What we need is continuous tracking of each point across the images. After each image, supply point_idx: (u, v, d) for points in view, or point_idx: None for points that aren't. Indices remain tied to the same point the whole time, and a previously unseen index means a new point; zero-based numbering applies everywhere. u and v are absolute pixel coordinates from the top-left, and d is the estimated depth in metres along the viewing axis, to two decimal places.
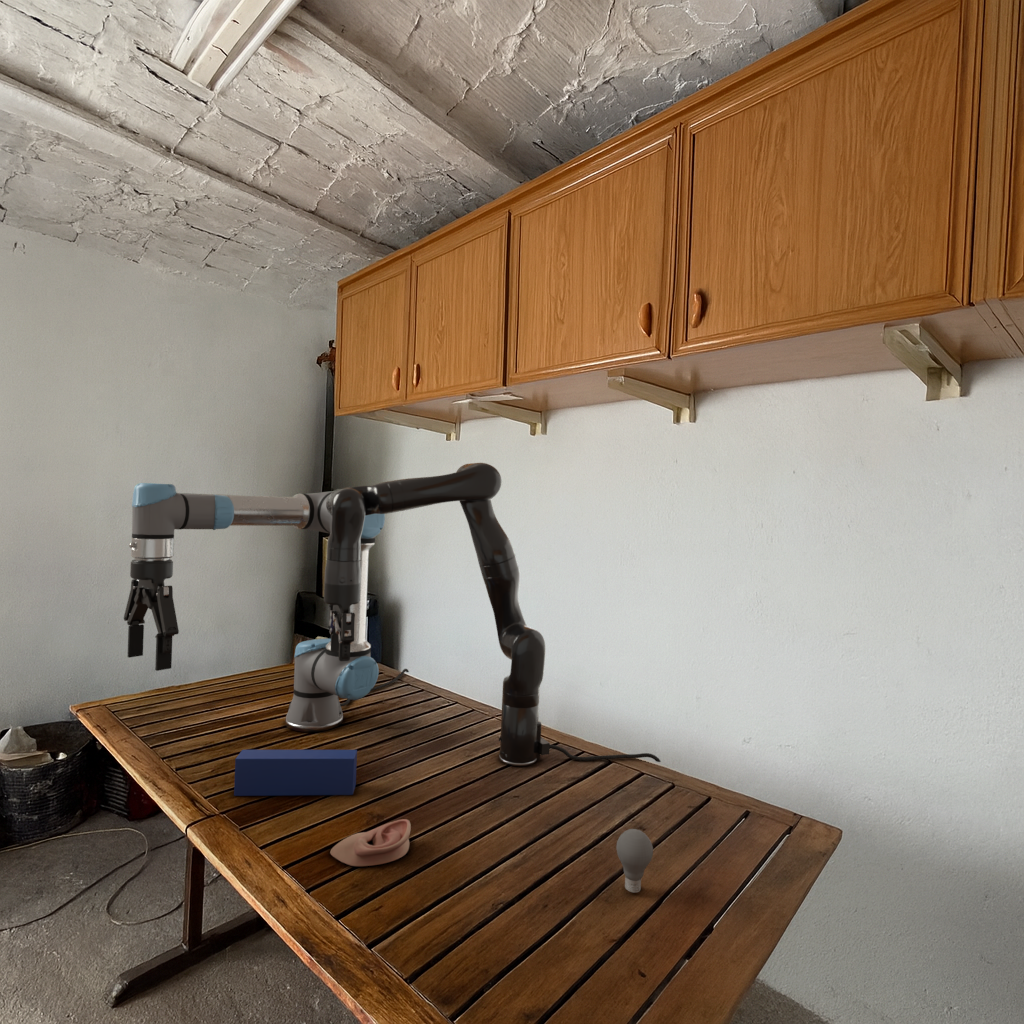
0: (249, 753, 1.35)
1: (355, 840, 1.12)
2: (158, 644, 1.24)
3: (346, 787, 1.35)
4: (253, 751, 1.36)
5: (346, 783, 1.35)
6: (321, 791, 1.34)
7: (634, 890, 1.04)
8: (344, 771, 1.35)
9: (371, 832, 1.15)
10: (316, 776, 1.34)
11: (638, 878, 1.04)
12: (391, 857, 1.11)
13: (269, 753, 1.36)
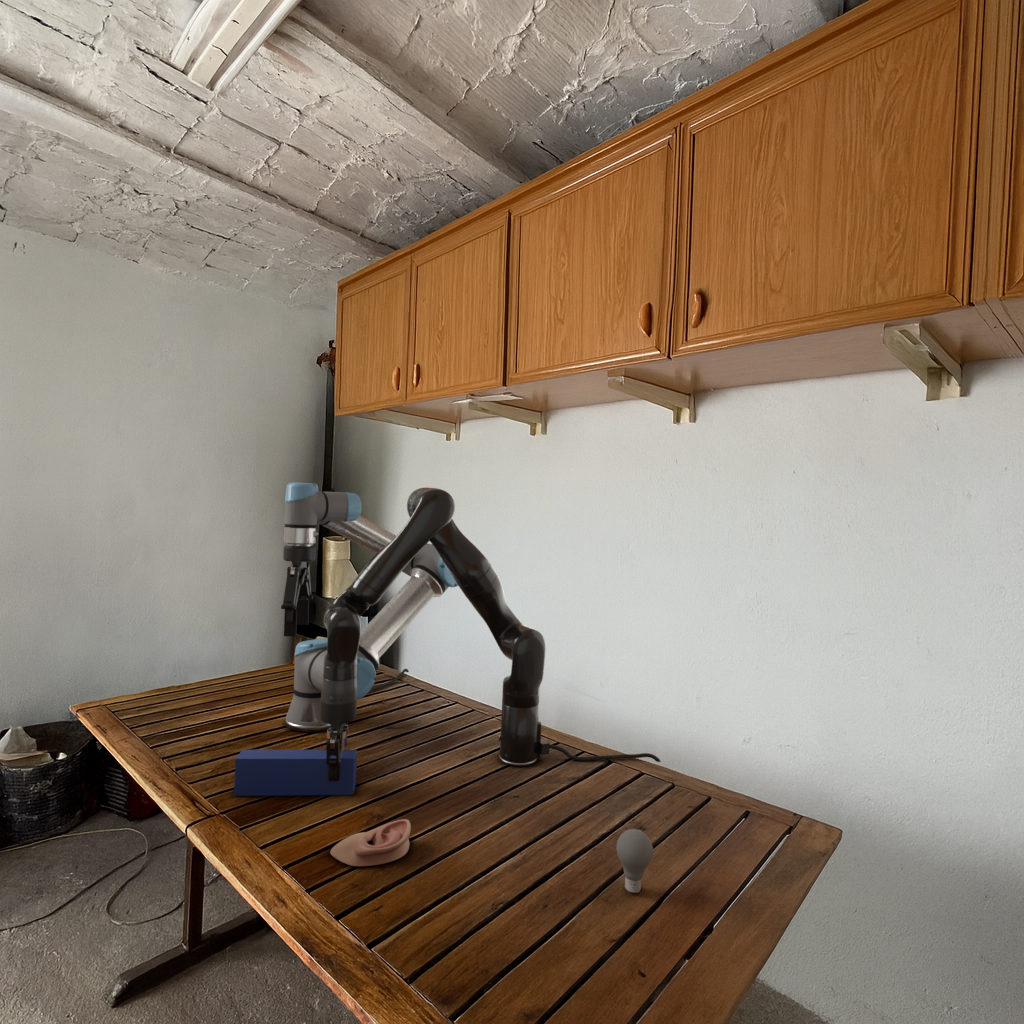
0: (249, 753, 1.35)
1: (355, 840, 1.12)
2: None
3: (346, 787, 1.35)
4: (253, 751, 1.36)
5: (346, 783, 1.35)
6: (321, 791, 1.34)
7: (634, 890, 1.04)
8: (344, 771, 1.35)
9: (371, 832, 1.15)
10: (316, 776, 1.34)
11: (638, 878, 1.04)
12: (391, 857, 1.11)
13: (269, 753, 1.36)
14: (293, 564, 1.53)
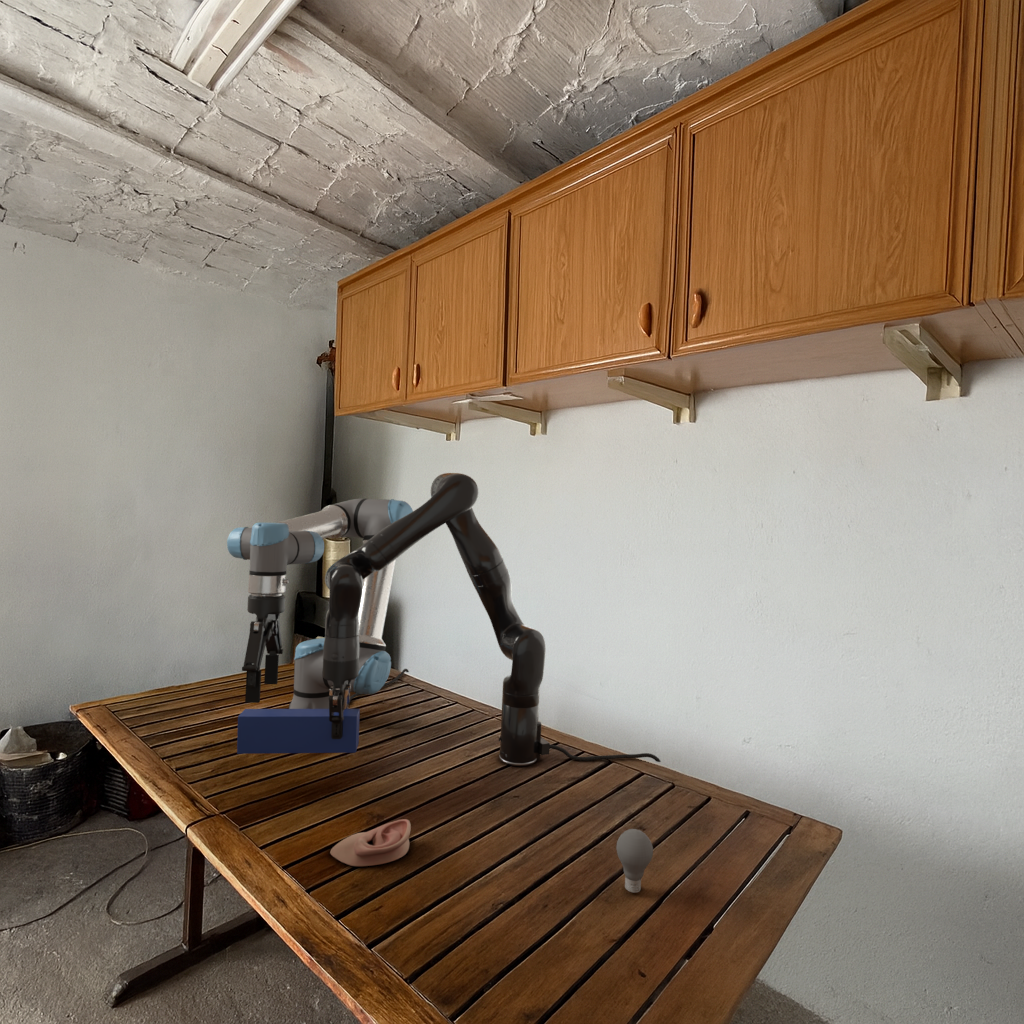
0: (252, 711, 1.35)
1: (355, 840, 1.12)
2: None
3: (349, 745, 1.35)
4: (256, 710, 1.36)
5: (348, 741, 1.35)
6: (324, 749, 1.34)
7: (634, 890, 1.04)
8: (347, 729, 1.35)
9: (371, 832, 1.15)
10: (318, 734, 1.34)
11: (638, 878, 1.04)
12: (391, 857, 1.11)
13: (271, 712, 1.36)
14: (258, 617, 1.33)
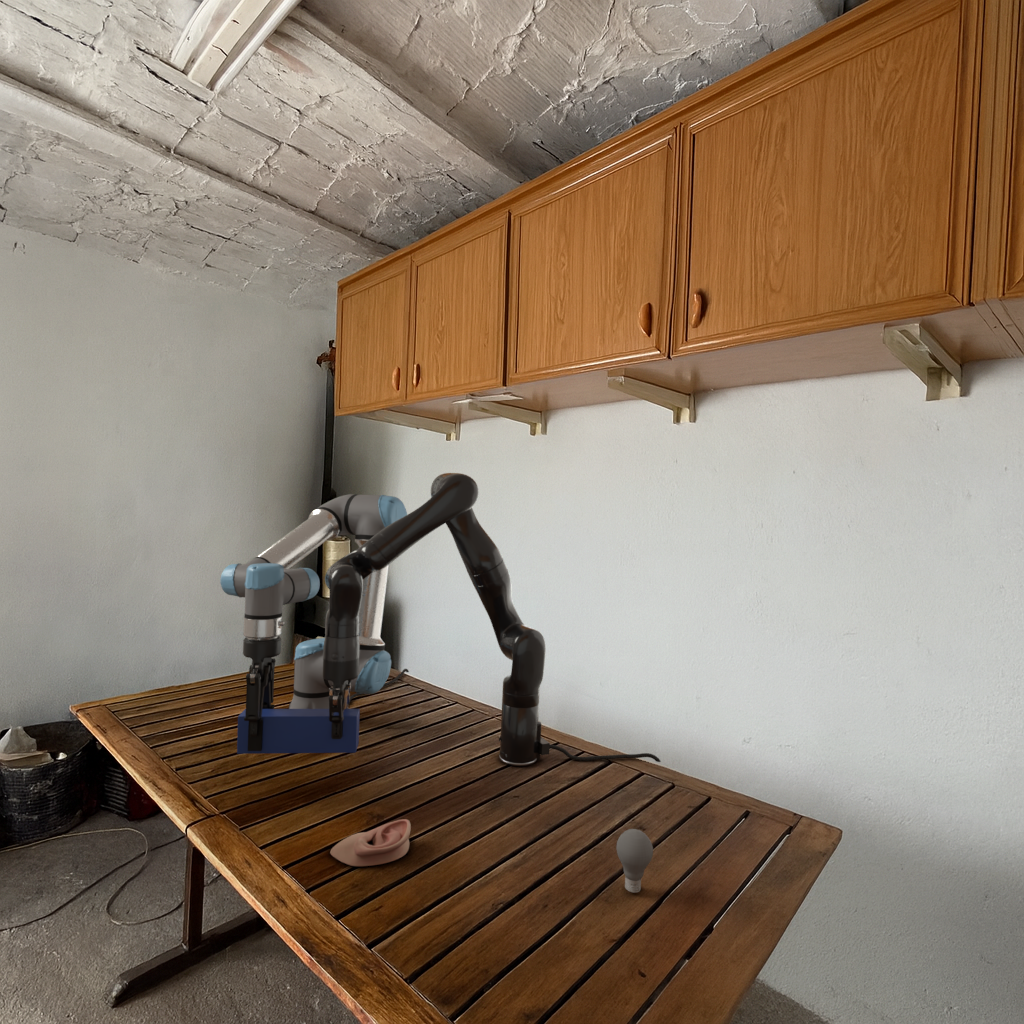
0: None
1: (355, 840, 1.12)
2: None
3: (349, 745, 1.35)
4: None
5: (348, 741, 1.35)
6: (324, 749, 1.34)
7: (634, 890, 1.04)
8: (347, 729, 1.35)
9: (371, 832, 1.15)
10: (318, 734, 1.34)
11: (638, 878, 1.04)
12: (391, 857, 1.11)
13: (271, 712, 1.36)
14: (254, 662, 1.31)
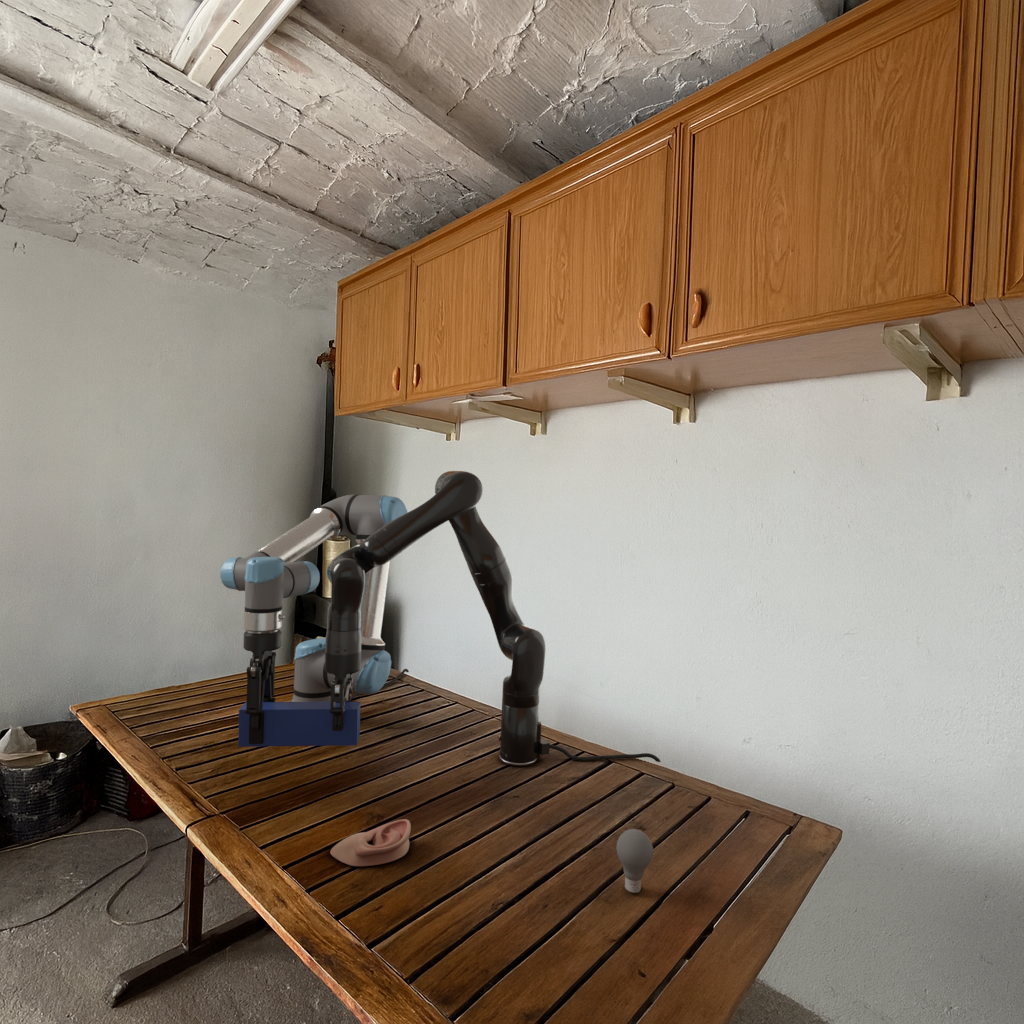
0: None
1: (355, 840, 1.12)
2: None
3: (350, 737, 1.35)
4: None
5: (349, 734, 1.35)
6: (325, 742, 1.35)
7: (634, 890, 1.04)
8: (348, 722, 1.35)
9: (371, 832, 1.15)
10: (319, 727, 1.34)
11: (638, 878, 1.04)
12: (391, 857, 1.11)
13: (272, 705, 1.36)
14: (254, 655, 1.31)
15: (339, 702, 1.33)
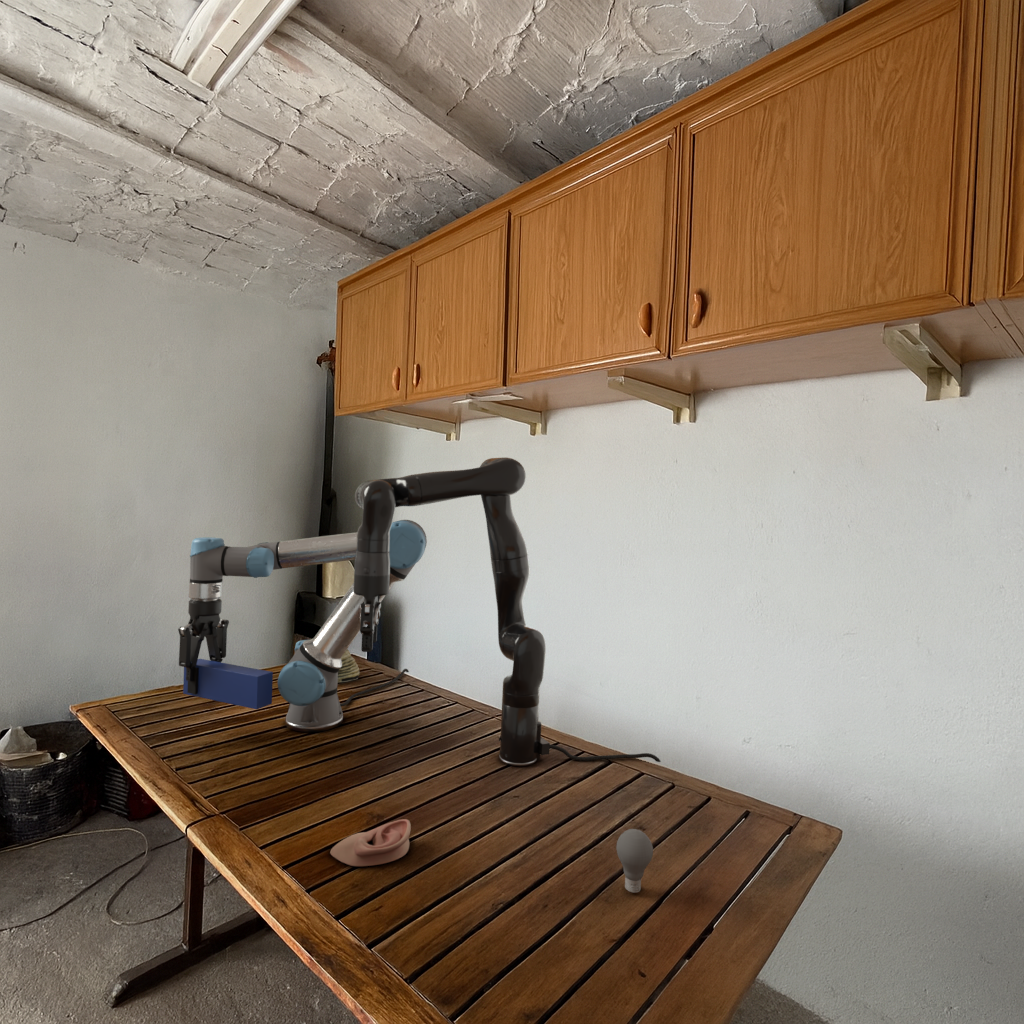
0: (199, 661, 1.61)
1: (355, 840, 1.12)
2: None
3: (252, 701, 1.51)
4: (204, 660, 1.62)
5: (252, 698, 1.51)
6: (236, 701, 1.53)
7: (634, 890, 1.04)
8: (251, 687, 1.51)
9: (371, 832, 1.15)
10: (232, 687, 1.53)
11: (638, 878, 1.04)
12: (391, 857, 1.11)
13: (210, 663, 1.60)
14: (190, 618, 1.57)
15: (368, 623, 1.34)
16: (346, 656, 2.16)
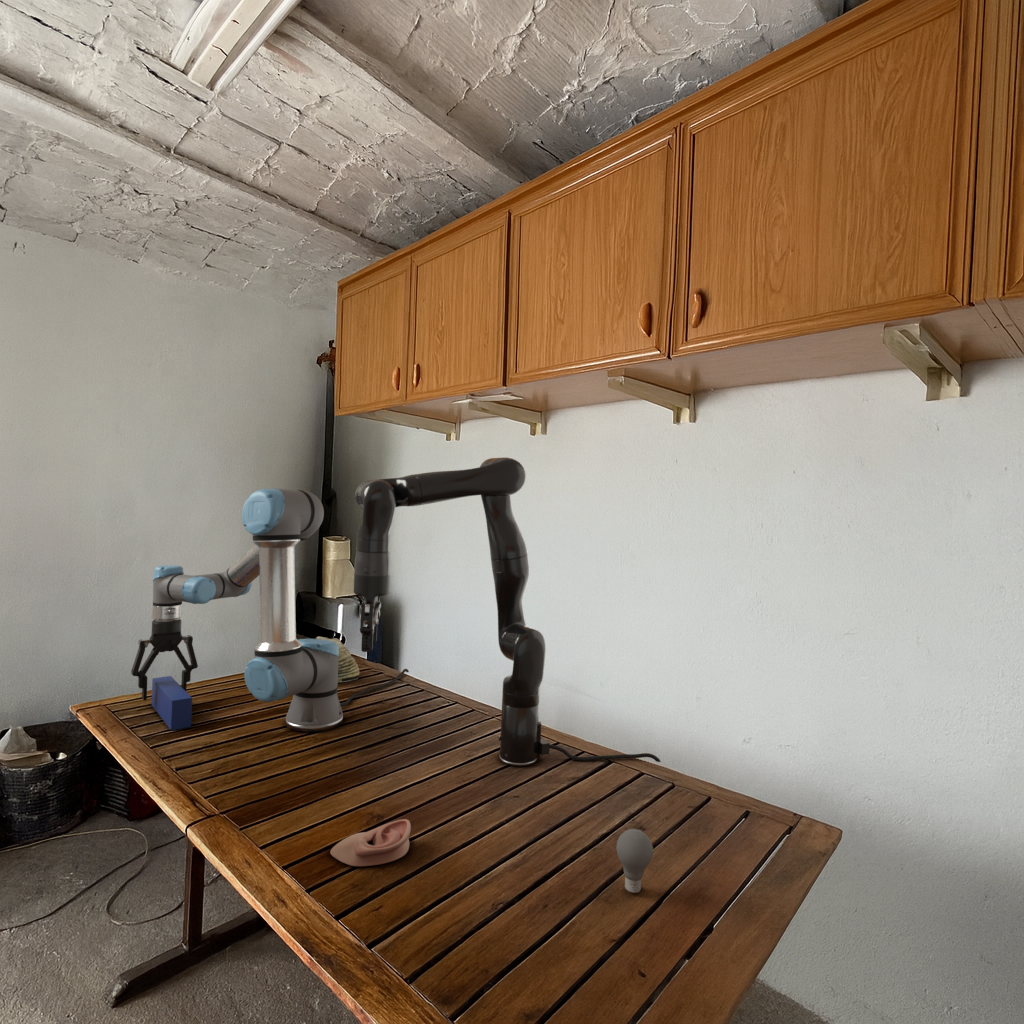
0: (164, 678, 1.85)
1: (355, 840, 1.12)
2: (186, 676, 1.86)
3: (169, 722, 1.67)
4: (168, 678, 1.85)
5: (169, 719, 1.67)
6: (165, 720, 1.71)
7: (634, 890, 1.04)
8: (169, 709, 1.68)
9: (371, 832, 1.15)
10: (164, 706, 1.72)
11: (638, 878, 1.04)
12: (391, 857, 1.11)
13: (167, 682, 1.82)
14: (151, 635, 1.81)
15: (368, 623, 1.34)
16: (346, 656, 2.16)
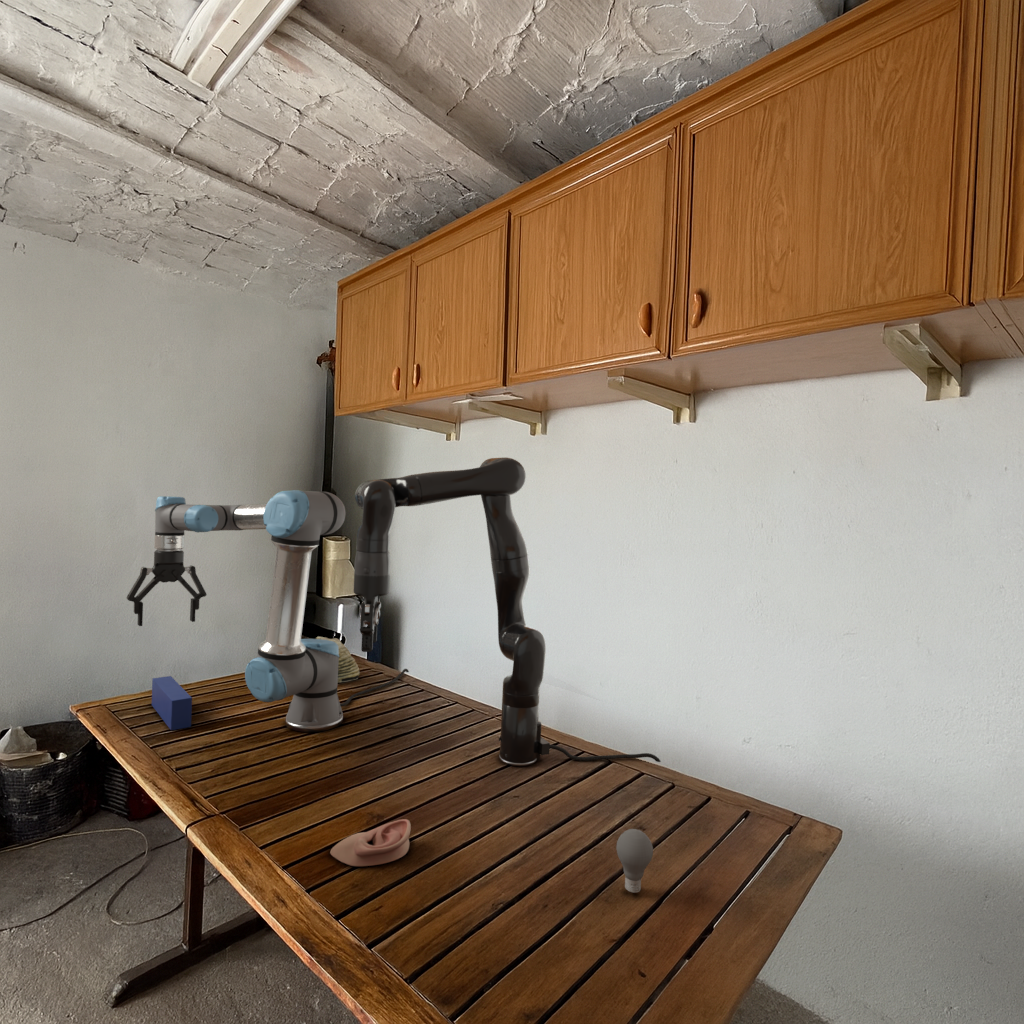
0: (164, 678, 1.85)
1: (355, 840, 1.12)
2: (195, 604, 1.87)
3: (169, 722, 1.67)
4: (168, 678, 1.85)
5: (169, 719, 1.67)
6: (165, 720, 1.71)
7: (634, 890, 1.04)
8: (169, 709, 1.68)
9: (371, 832, 1.15)
10: (164, 707, 1.72)
11: (638, 878, 1.04)
12: (391, 857, 1.11)
13: (167, 682, 1.82)
14: None
15: (368, 623, 1.34)
16: (346, 656, 2.16)
